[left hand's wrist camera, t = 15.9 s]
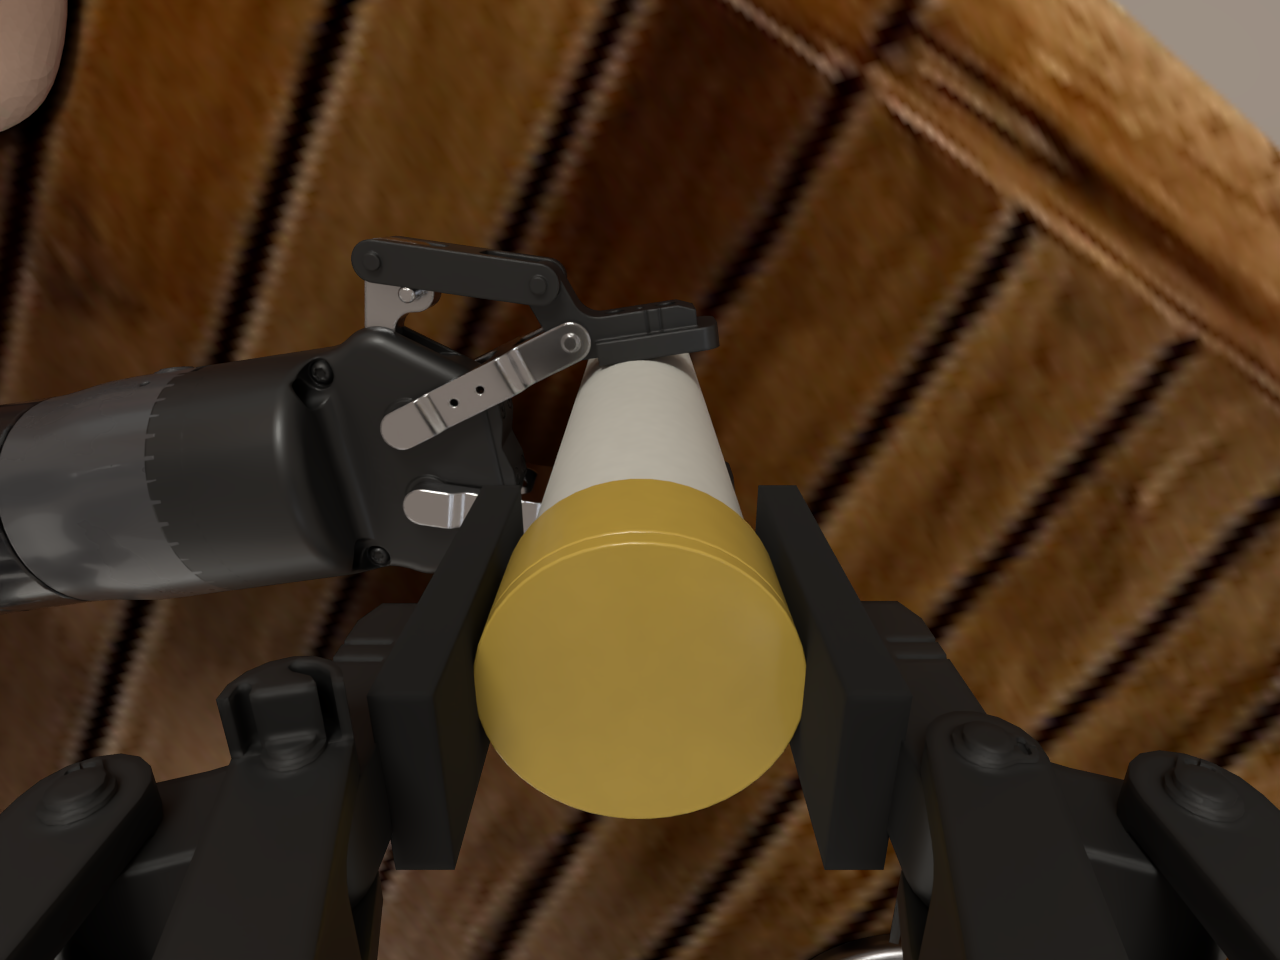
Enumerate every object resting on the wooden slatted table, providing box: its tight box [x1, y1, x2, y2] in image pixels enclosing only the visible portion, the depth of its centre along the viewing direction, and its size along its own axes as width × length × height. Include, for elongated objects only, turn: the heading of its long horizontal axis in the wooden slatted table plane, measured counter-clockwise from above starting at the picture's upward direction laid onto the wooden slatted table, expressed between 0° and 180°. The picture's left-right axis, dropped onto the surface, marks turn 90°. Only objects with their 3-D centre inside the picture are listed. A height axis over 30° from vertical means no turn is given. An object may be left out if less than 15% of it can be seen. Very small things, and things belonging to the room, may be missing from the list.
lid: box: [474, 479, 806, 819], centre depth 11 cm, size 5×5×2 cm
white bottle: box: [537, 353, 743, 518], centre depth 20 cm, size 4×4×20 cm
